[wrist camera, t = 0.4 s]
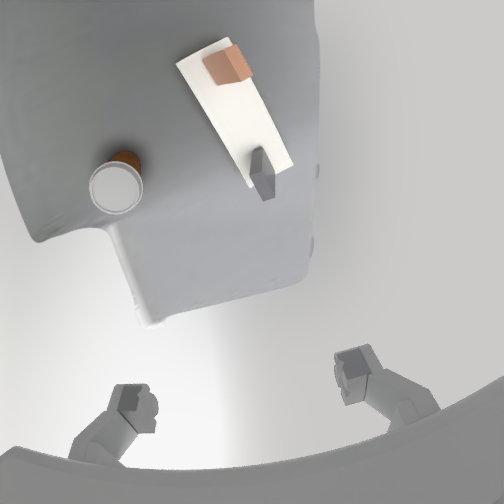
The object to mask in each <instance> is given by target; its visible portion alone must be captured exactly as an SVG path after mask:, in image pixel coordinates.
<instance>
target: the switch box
mask: <svg viewBox="0 0 504 504" xmlns="http://www.w3.org/2000/svg"><path fill="white" fill-rule="evenodd" d="M230 46H232V43H231V41H230V40H229V38H228V37H226V38H224V39H222V40H220V41H217V42H215V43H213V44H211V45H209V46H207V47H205V48H203V49H201V50H199V51H198V52H196V53H194V54H192V55H190V56H188V57H186V58H185V59H183V60H181V61H179V62H177V63H176V65H177V67H178V68H179V70H180V72H181V73H182V75H183V76H184V78H185V80H186V81H187V83H188V84H189V86H190V88H191V89H192V91H193V93H194V94H195V96H196V98H197V99H198V101H199V102H200V104H201V106H202V107H203V109H204V111H205V112H206V114H207V116H208V117H209V119H210V121H211V122H212V124H213V126H214V127H215V129H216V131H217V132H218V134H219V136H220V138H221V139H222V141H223V143H224V144H225V146H226V148H227V149H228V151H229V153H230V155H231V156H232V158H233V160H234V161H235V163H236V165H237V167H238V168H239V170H240V172H241V174H242V175H243V177H244V179H245V180H246V182H247V184H248V186H249V187H250V188H251V187H253V186H254V184H253V182H252V180H251V179H250V177H249V173H250V165H251V158H252V152H254V149H255V148H257V147H259V146H262V148H264V150H265V152H266V154H267V156H268V158H269V160H270V162H271V164H272V166H273V168H274V170H275V174H277V173H279V172H281V171H283V170H285V169H287V168H289V167H291V166H292V165H293V163H292V161H291V159H290V157H289V155H288V153H287V150H286V148H285V146H284V144H283V142H282V140H281V138H280V135H279V133H278V131H277V129H276V127H275V125H274V123H273V121H272V119H271V117H270V115H269V113H268V111H267V109H266V107H265V105H264V103H263V101H262V99H261V97H260V95H259V93H258V91H257V89H256V87H255V85H254V83H253V82H252V80H251V78H250V77H249V78H247V79H246V80H244V81H242V82H237V83H230V84H224V85H219V86H217V84H216V82H215V81H214V79H213V77H212V76H211V74H210V72H209V70H208V69H207V67H206V65H205V64H204V62H203V60H202V59H203V58H205V57H207V56H209V55H211V54H213V53H215V52H218V51H220V50H222V49H225V48H227V47H230Z"/></svg>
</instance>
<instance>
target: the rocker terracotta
mask: <svg viewBox="0 0 504 504" xmlns="http://www.w3.org/2000/svg"><path fill="white" fill-rule="evenodd" d="M202 60H203V62H204V64H205V65H206V67H207V69H208V70H209V72H210V74H211V76H212V77H213V79H214V81H215V82H216V84H217V86H219V85H224V84H230V83H237V82H242V81H244V80H246V79H247V78H249V77H251V76H253V73H252V71H251V69H250V68H249V66H248V64H247V62H246V60H245V58H244V57H243V55H242V53H241V51H240V49H239V47H238V46H237V44H235V45H232V46H230V47H227V48H225V49H222V50H220V51H218V52H215V53H213V54H211V55H209V56H207V57H205V58H203V59H202Z"/></svg>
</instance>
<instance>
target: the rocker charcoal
mask: <svg viewBox="0 0 504 504" xmlns="http://www.w3.org/2000/svg"><path fill="white" fill-rule="evenodd" d="M249 177H250V179H251V180H252V182H253V184H254V186H255V187H256V189H257V191H258V193H259V195H260V196H261V198H262V200H263V201H266V200H269V199H272V198H275V170H274V168H273V166H272V164H271V162H270V160H269V158H268V156H267V154H266V152H265V150H264V148H262V146H259V147H257V148H255V149H254V152H252V158H251V165H250V173H249Z"/></svg>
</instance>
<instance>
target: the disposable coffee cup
mask: <svg viewBox="0 0 504 504" xmlns="http://www.w3.org/2000/svg"><path fill="white" fill-rule="evenodd" d="M89 191H90V195H91V198H92V201H93V202H94V204H95V205H96V206H97V207H98V208H99V209H100V210H102V211H103V212H105V213H108V214H114V215H117V214H123V213H125V212H128V211H129V210H131V209H133V208H134V207H135V206H136V205H137V204H138V203H139V201H140V199H141V197H142V194H143V183H142V179H141V164H140V160H139V158H138V157H137V156H136V155H135V154H134V153H132V152H129V151H122V152H119V153H117V154H116V155H115V156H114V157H113V158H111V159H110V160H109V161H108V162H107V163H105V164H103V165H101V166H100V167H98V168H97V169H96V170H95V171H94V173H93V174H92V176H91V179H90V183H89Z"/></svg>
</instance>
